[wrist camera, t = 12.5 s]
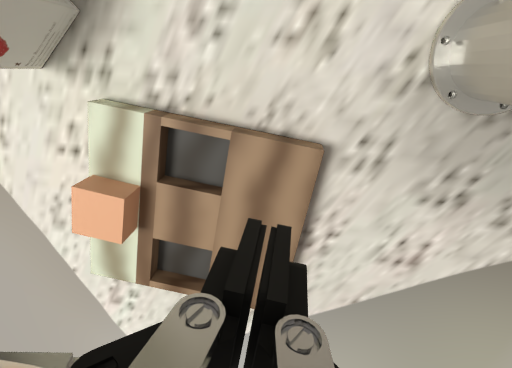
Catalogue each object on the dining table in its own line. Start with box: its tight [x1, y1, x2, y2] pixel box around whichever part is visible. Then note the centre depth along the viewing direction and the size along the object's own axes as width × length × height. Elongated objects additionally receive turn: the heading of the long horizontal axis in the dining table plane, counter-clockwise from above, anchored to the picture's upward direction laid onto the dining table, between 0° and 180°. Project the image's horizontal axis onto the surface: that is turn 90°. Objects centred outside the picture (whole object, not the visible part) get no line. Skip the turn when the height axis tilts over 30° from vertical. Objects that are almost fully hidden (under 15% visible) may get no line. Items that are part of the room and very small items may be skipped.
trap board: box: [88, 99, 324, 309], centre depth 40 cm, size 27×24×3 cm
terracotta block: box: [72, 175, 140, 244], centre depth 36 cm, size 6×6×4 cm
